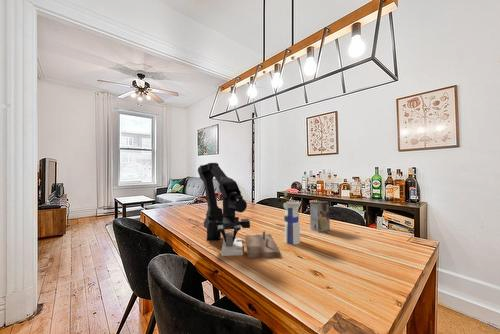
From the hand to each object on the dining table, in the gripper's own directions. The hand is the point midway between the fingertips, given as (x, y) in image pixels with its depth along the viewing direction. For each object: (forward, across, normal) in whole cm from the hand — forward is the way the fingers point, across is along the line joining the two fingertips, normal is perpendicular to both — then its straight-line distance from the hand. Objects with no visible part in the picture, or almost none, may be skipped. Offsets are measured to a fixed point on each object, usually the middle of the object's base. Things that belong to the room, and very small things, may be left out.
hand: (229, 242), depth 98 cm
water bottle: (+3, +30, +5) cm, 31 cm away
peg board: (+2, +14, 0) cm, 15 cm away
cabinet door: (+2, +1, 0) cm, 3 cm away
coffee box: (+3, +51, +22) cm, 56 cm away
